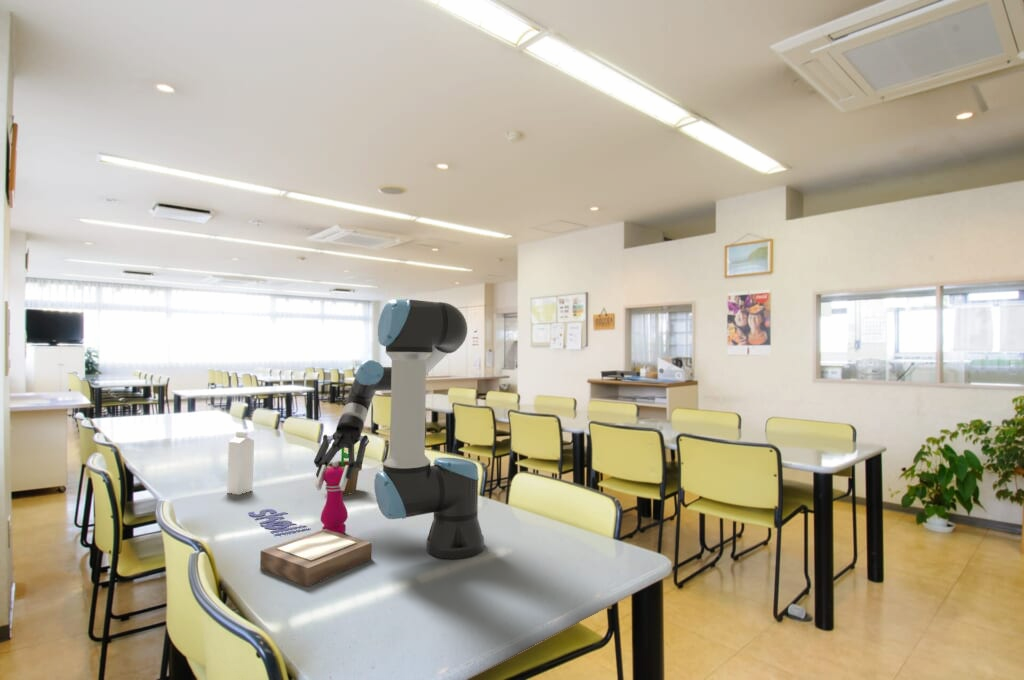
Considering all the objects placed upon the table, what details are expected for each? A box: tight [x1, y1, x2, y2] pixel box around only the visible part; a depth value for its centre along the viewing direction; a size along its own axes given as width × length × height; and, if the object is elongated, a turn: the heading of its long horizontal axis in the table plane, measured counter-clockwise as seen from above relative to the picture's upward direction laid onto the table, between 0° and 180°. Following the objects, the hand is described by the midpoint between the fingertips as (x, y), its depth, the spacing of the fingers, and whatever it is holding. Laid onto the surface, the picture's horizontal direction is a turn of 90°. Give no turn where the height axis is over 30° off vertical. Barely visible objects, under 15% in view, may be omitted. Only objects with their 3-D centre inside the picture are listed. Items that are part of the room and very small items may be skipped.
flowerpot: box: [325, 448, 363, 496], centre depth 185 cm, size 14×14×30 cm
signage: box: [247, 508, 310, 537], centre depth 151 cm, size 28×1×10 cm
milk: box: [226, 431, 255, 496], centre depth 184 cm, size 6×6×22 cm
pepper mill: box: [320, 460, 349, 534], centre depth 140 cm, size 7×7×20 cm
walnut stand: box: [259, 529, 373, 587], centre depth 120 cm, size 18×18×4 cm
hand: (329, 487), depth 136 cm, fingers closed on pepper mill, 6 cm apart
